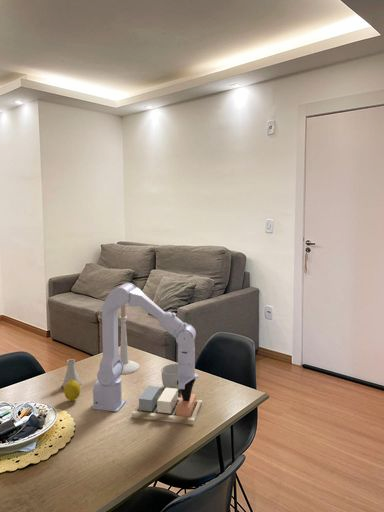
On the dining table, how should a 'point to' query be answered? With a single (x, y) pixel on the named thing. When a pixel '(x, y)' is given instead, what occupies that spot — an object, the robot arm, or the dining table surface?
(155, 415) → the wooden tray
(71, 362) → the flask
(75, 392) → the lemon
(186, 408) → the terracotta key
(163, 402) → the ivory key
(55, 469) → the dining table surface
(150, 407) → the grey rectangular block
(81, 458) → the dining table surface
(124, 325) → the candlestick
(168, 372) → the teacup
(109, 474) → the dining table surface
